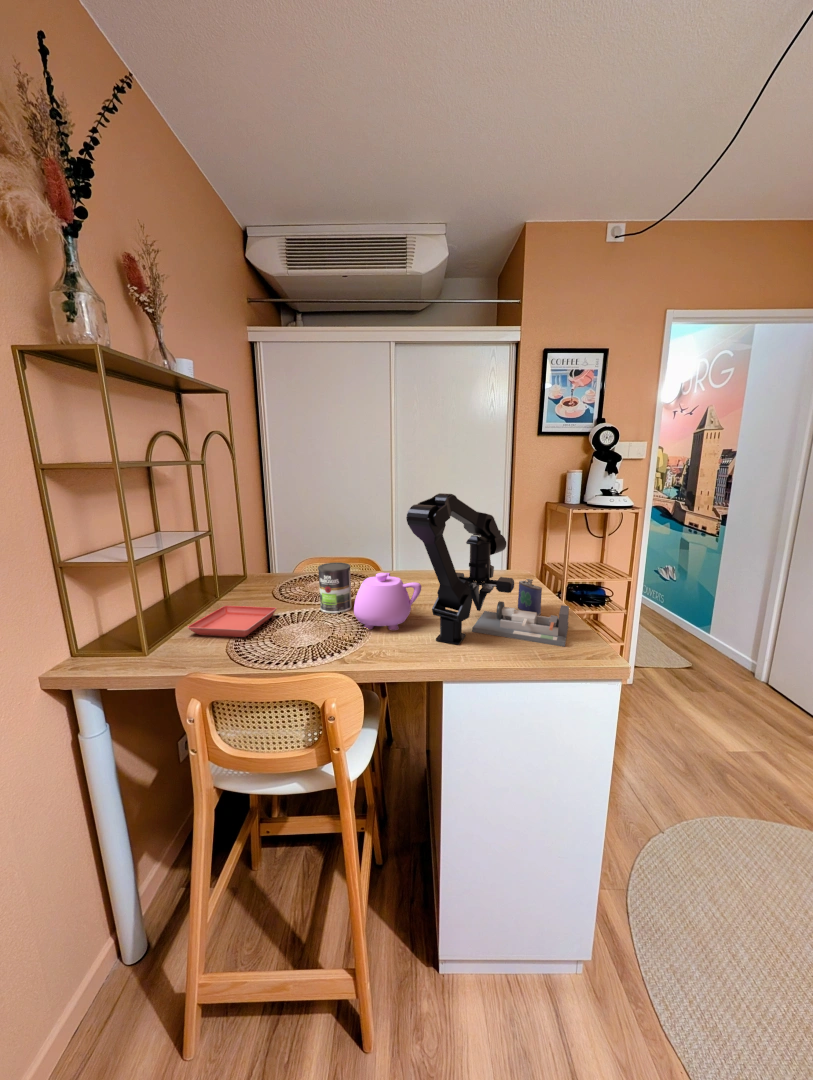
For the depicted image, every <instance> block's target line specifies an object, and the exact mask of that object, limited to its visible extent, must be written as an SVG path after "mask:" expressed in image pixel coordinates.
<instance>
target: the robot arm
mask: <svg viewBox="0 0 813 1080" xmlns="http://www.w3.org/2000/svg"><path fill="white" fill-rule="evenodd" d="M451 518H454V520H457V521H458V522H461V523H462V524H463V529H465V530H466V532H468V534H471V535H470V537H469V538H468V539H467V540H466V542H465V543H466V545H469V563H468V567H469V576H465V574H464V573H463V572H456V567H455V566H454V564H453V561H452V557H451V555H450V551H449V549H448V546H447V542H446V541H445V538H444V531H445V528H446V522H447V521H448V520H450V519H451ZM406 523H407V526H408V527H409V529H410V530H411V532H412V534H414V536H416V537H417V538H418V539H419V540H420V541H422V543H423V544H424V547H425V550H426V553H427V555H428V558H429V560H430V563H431V565H432V568H433V570H434V573H435V576H436V578H437V581H438V583H439V587H438V590H437V597H436V600H435V602H434V603H433V606H432V608H431V612H432V615H433V616H437V617H439V625H440V626H439V630H440V631H439V634H438V636H437V637H435V641H436V642H440V643H445V644H453V645H460V644H461V642H462V641H463V640H464V639H465V637H466V635H467V634H466V633H465V632H463V622H464V621H466V620H467V619H470V614H471V611H472V604H474V606H475V609H476V611H478V612H481V609H482V607H483V605H484V602H485V599H486V597H487V595H488V594H490V593H491V592H492V591H494V588H495V589H496V591H497V592H499V593H507V594H509V593H510V594H511V593H512V591H513V590H514V589H515V580H514V579H513V577H504V576H500V577H499V578H498V579H492V578H493V577H494V571H495V566H494V565H492V562H491V556H492V555H496V554H499V553H501V552H503V551H504V550H505V549H506V547H507V540H506V538H505V537H504V535H503V534H501V530H499V528H498V524H497V521H496V520H495V517H494V516H493V515H492V514H489V513H486V512H481V511H477V510H475V509H474V508H472V507H471V506H469V505H468V504H466V503H465V502H463V501H462V500H460V499H459V498H458V497H457V496H456V495H455V494H452V493H440V492H439V493H437V494H435V495H434V496H432V497H430V498H428V499H425V500H421V501H420V502H418V503H417V504H413V505H411V507H410V508H409V510H408V511H407V513H406ZM480 586H481V588H480Z"/></svg>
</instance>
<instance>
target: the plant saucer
mask: <svg viewBox="0 0 813 1080" xmlns="http://www.w3.org/2000/svg"><path fill="white" fill-rule="evenodd" d="M277 609H278V608H277V607H269V606H268V607H267V606H248V605H247V606H246V605H245V606H243V605H223V606H221V607H219V608H218V609H216V610H214V611H213V612H211V613H209V614H207V615H205V616H204V617H201V618H200V619H198V620H195V622H193V623H191V624H189V625H188V626H187V629H189V630H190V631H192V632H193V633H194V634H197V635H198V636H211V637H212V636H214V637H229V638H230V637H231V638H232V637H233V638H234V637H235V638H246V637H248V636H249V635H250V634H251V633H253V632H254V631H256V630H257V629H258V628H259V627H260V626H262V625H263V624H265V623H266V622H267V621H269V619H271V618H272V616H273V615H274V614H275V612H276V611H277Z"/></svg>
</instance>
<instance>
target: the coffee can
mask: <svg viewBox="0 0 813 1080" xmlns="http://www.w3.org/2000/svg"><path fill="white" fill-rule="evenodd" d="M317 570H318V584H319V585H318V588H319V601H320V603H319V605H320V607H319V610H320V612H322V613H326V614H340V612H341V613H345V612H348V611H350V610H351V609H352V584H351V583H352V582H351V581H352V579H351V565H350V564H349V563H346V562H327V563H323V564H320V565H318V566H317Z"/></svg>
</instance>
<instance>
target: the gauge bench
mask: <svg viewBox="0 0 813 1080" xmlns="http://www.w3.org/2000/svg"><path fill="white" fill-rule="evenodd" d="M569 612H570V605H563V604H561V605H560V608H559V613H558V622H557V627H553V630H549V629H550V626H549V620H550V617H551V616H543V615H540V616H539V615H538V616H537V621H536V624H529V623H526V625H525V626H522V623H523V622H516V621H512V616H505V615H504V616H503V619H501V620H497V617H496V611H488V610H484V611H483V612H482V614H481V615H480V616H479V617H478V618H477V621H476V622H475V623H474V624H473V626H472V628H471V632H472V633H478V634H484V635H485V634H486V635H491V636H496V637H503V638H510V639H516V640H522V641H528V642H532V643H533V642H534V643H539V644H546V645H552V646H553V645H554V646H558V647H566V644H567V643H566V642H567V636H568V631H569V629H568V628H569V614H570V613H569Z"/></svg>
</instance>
